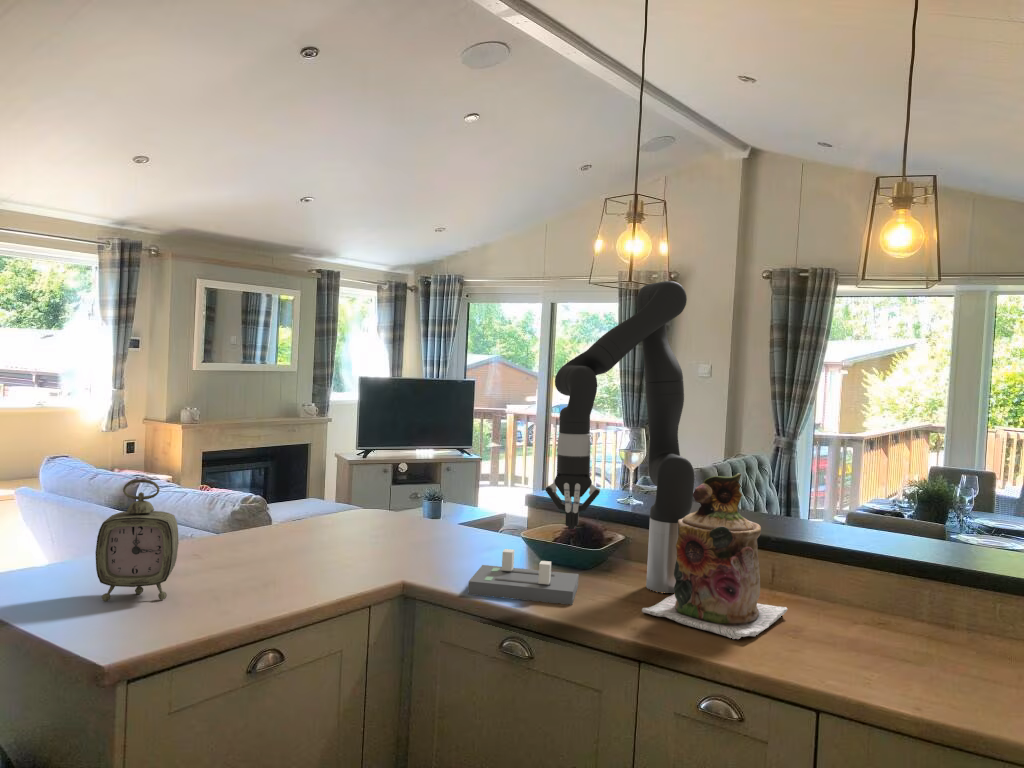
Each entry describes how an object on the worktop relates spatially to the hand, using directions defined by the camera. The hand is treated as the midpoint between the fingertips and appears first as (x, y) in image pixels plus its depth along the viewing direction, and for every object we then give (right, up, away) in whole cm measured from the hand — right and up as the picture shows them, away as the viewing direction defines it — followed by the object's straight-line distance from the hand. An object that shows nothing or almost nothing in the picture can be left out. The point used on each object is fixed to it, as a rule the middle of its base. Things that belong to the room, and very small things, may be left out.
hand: (571, 528), depth 170 cm
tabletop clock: (-93, -12, -13) cm, 95 cm away
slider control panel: (-11, -16, +6) cm, 20 cm away
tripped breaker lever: (-6, -13, +1) cm, 14 cm away
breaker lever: (-15, -12, +11) cm, 22 cm away
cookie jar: (+31, -18, -6) cm, 37 cm away
